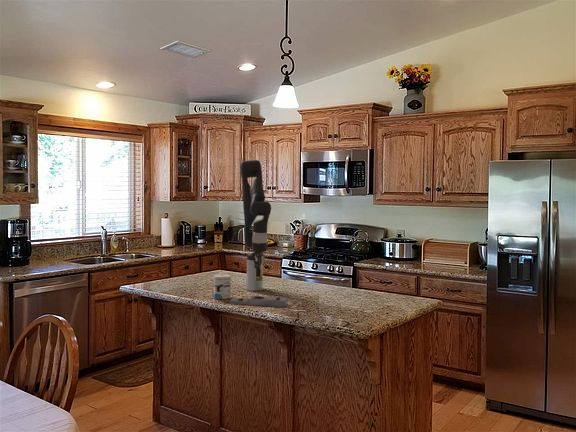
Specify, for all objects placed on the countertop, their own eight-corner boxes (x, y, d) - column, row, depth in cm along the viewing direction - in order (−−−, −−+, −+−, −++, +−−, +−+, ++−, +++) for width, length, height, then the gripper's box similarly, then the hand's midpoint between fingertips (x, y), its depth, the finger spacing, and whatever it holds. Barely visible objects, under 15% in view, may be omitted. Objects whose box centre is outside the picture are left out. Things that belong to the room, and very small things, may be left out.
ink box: (214, 299, 270) (214, 276, 270) (213, 297, 275) (213, 275, 275) (230, 298, 273) (231, 276, 272) (229, 296, 277) (229, 274, 277)
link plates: (233, 300, 267) (233, 293, 267) (287, 304, 262) (287, 296, 262) (229, 303, 260) (230, 296, 260) (285, 307, 256) (285, 299, 255)
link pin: (255, 279, 263) (256, 259, 263) (264, 279, 262) (264, 259, 262) (253, 280, 259) (254, 260, 259) (262, 281, 258) (262, 261, 258)
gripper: (255, 240, 267) (255, 273, 268) (249, 242, 253) (248, 277, 254) (270, 240, 266) (269, 274, 267) (264, 243, 252) (263, 278, 253)
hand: (259, 275), depth 261 cm, fingers closed on link pin, 3 cm apart
